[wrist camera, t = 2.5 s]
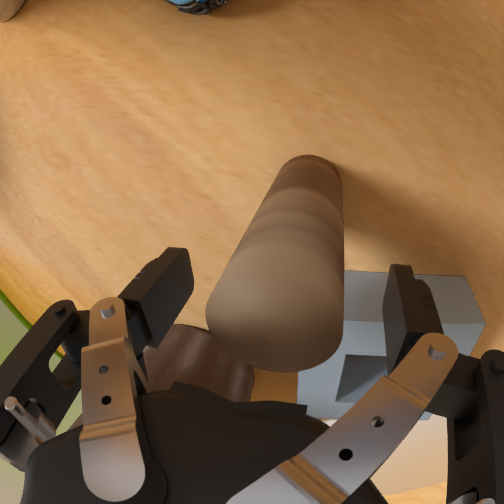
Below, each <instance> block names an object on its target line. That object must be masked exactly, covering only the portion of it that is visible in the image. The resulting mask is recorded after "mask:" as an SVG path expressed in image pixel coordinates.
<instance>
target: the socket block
mask: <svg viewBox="0 0 504 504" xmlns="http://www.w3.org/2000/svg"><path fill="white" fill-rule="evenodd" d="M388 275H389V273H380V272H362V271H345V270H344V325H343V337H342V341H341V344H340V346H339V348H338V349H337V351H336V352H335V353H334V355H333V356H332V357H331V358H329V359H328V360H327V361H325V362H324V363H322V364H320V365H318V366H316V367H314V368H311V369H307V370H303V371H298V390H297V404H303V405H308V407H307V413H306V415H309V416H312V417H314V418H322V419H337V420H339V419H340V418H341V417H342V416H343V415H344V414H345V413H346V412H347V411H348V410H349V409H350V408H351V407H352V406H353V405H354V404H355V403H356V402H357V401H358V400H359V399H360V398H361V397H362V396H363V395H364V394H365V393H366V392H367V391H368V390H369V389H370V388H371V387H372V386H373V385H374V384H375V383H376V382H377V381H378V380H379V379H380V378H381V377H382V376H384V375H386V376H387V377H388V374H387V357H373V356H386V344H385V333H384V323H383V313H382V307H383V298H384V293H385V289H386V284H387V280H388ZM414 277H415V279H422V280H423V281H424V282H425V283H426V284H427V285H428V286H429V287H430V289H431V292H432V295H433V300H434V301H435V305H436V308H437V311H438V314H439V318H440V321H441V325H442V328H443V332H444V335H446V336H448V337H449V338H450V339H452V340H453V341H454V343H455V344H456V346H457V348H458V352H459V353H461V354H464V355H467V356H469V355H470V354H471V352H472V350H473V348H474V346H475V344H476V342H477V341H478V339H479V337H480V335H481V333H482V331H483V329H484V327H485V325H486V322H485V320H484V317H483V315H482V313H481V310H480V308H479V306H478V303H477V301H476V299H475V297H474V294H473V292H472V290H471V288H470V286H469V284H468V282H467V279H466V277H460V276H439V275H418V274H414ZM346 354H349V355H346ZM351 355H369V356H351ZM431 415H432V413H429V412H424V413H423V415H422V416H421V417H420V419H419V420H428V419H429V418H430V417H431Z"/></svg>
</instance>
